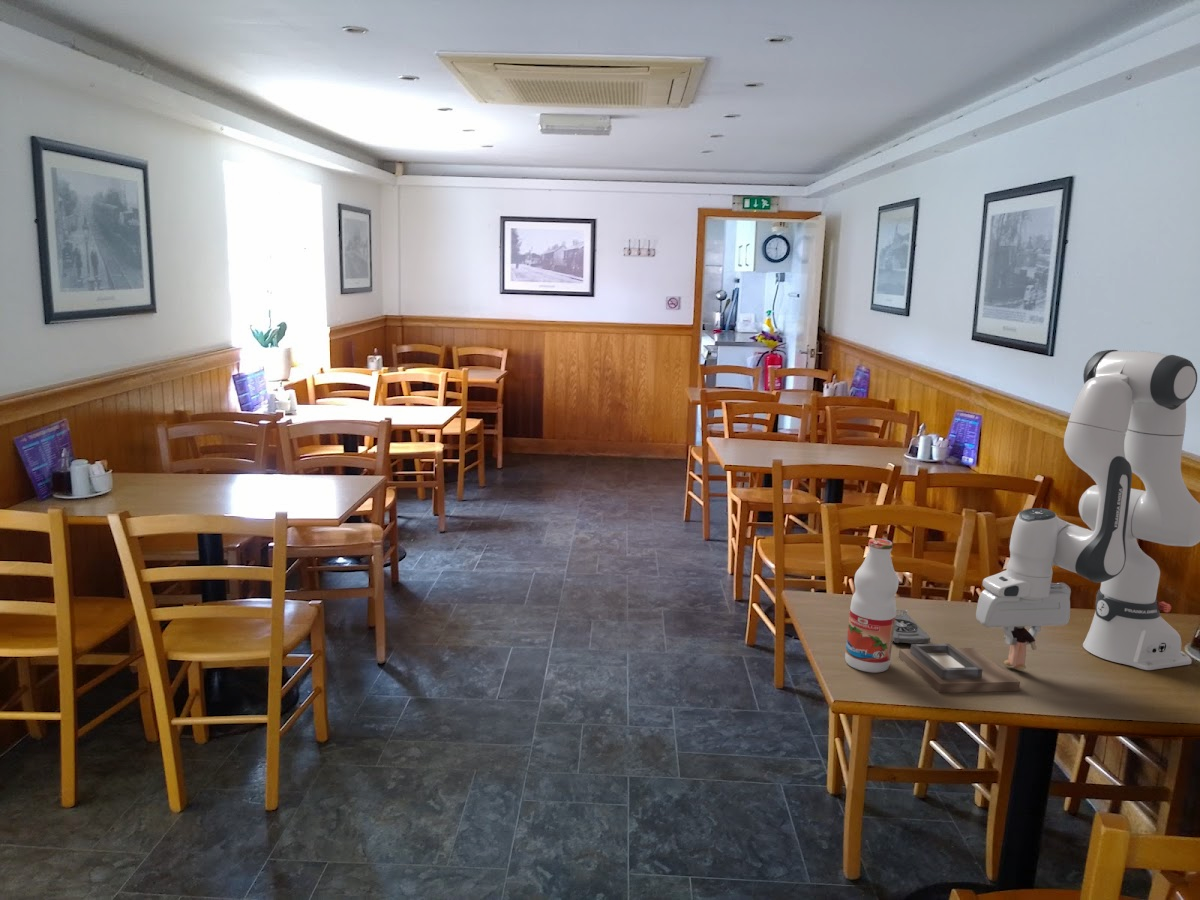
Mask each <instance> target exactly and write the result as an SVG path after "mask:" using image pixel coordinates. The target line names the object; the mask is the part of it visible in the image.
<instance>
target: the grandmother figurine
mask: <svg viewBox="0 0 1200 900" xmlns="http://www.w3.org/2000/svg"><path fill="white" fill-rule="evenodd" d="M1028 631H1029V630H1027V629H1026V626H1017V627H1014V630H1013V631H1011V632H1012V635H1013V636H1015V637H1016V638H1017V641H1016V645H1009V652H1008V659H1006V660H1004V661H1003V664H1004V665H1005V666H1007V667H1012V666H1013V669H1015V670H1017V671H1024V670H1025V669H1027V666H1026V658H1027V644H1026V643H1027V641H1028V642H1029V643H1030V644H1029V645H1030V647H1031V650H1033V651H1035V650H1037V646H1036V639H1035V638H1033V636H1032V635H1031V634H1030V633H1029V632H1028ZM1005 638H1006V635H1005V634H1004V635H1003V639H1004V640H1005Z"/></svg>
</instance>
